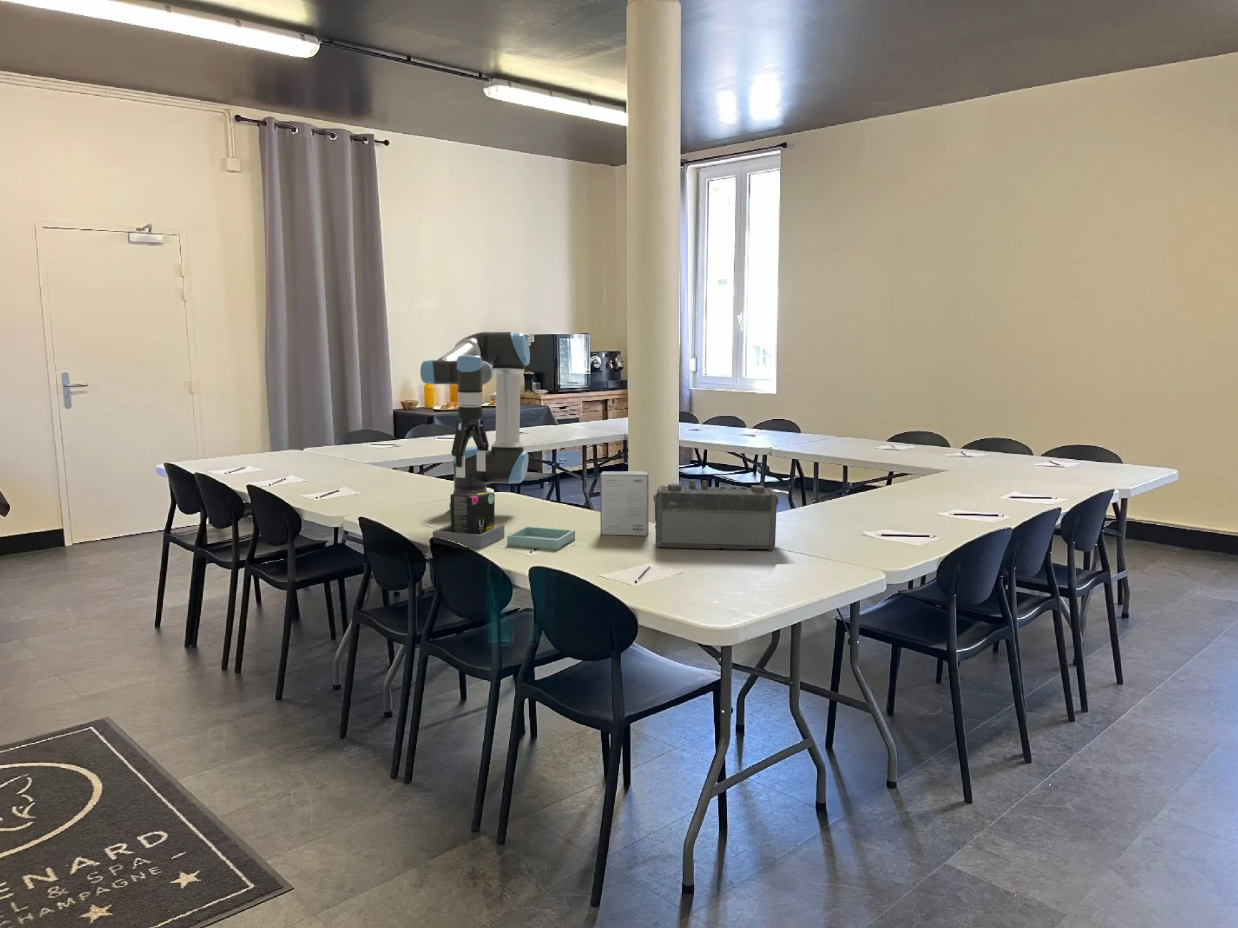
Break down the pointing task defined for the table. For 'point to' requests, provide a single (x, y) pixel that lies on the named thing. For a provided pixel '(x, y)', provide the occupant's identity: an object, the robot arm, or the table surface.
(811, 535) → the table surface
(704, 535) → the radio
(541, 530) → the tray
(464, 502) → the tampon box
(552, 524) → the table surface
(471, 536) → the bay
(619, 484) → the hard drive box
